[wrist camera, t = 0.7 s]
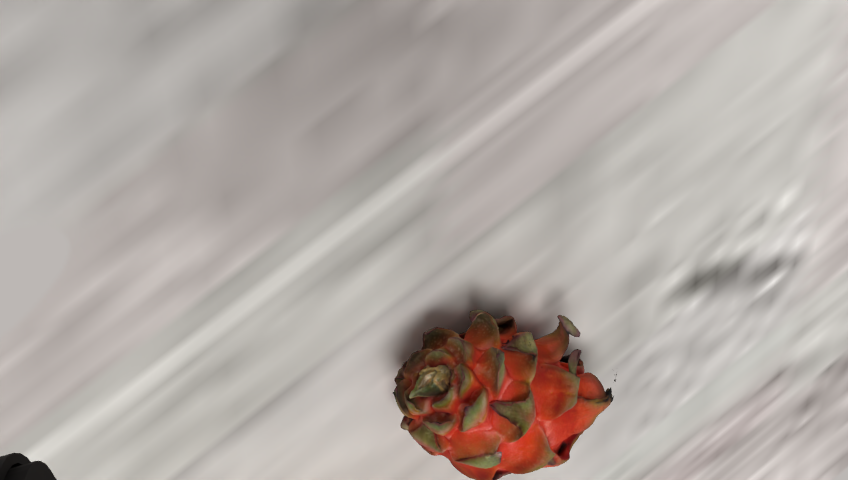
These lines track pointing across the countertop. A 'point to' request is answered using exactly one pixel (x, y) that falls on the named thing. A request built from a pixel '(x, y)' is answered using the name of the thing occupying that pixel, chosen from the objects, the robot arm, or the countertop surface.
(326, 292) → the countertop surface
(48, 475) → the robot arm
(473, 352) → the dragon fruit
